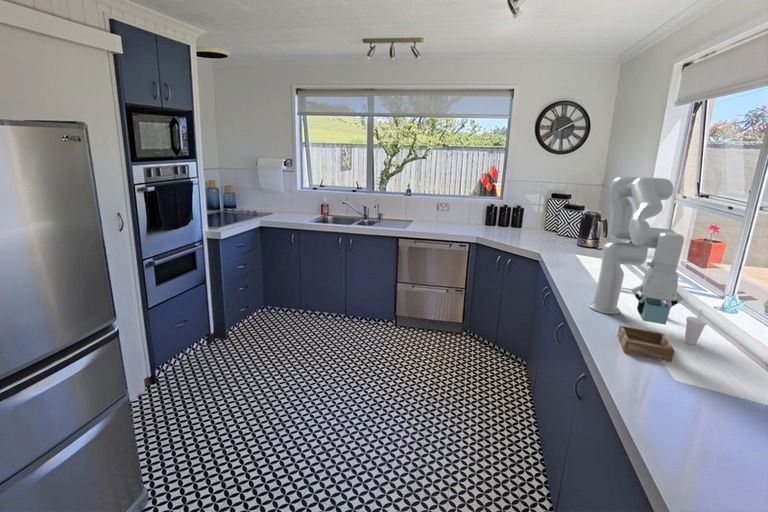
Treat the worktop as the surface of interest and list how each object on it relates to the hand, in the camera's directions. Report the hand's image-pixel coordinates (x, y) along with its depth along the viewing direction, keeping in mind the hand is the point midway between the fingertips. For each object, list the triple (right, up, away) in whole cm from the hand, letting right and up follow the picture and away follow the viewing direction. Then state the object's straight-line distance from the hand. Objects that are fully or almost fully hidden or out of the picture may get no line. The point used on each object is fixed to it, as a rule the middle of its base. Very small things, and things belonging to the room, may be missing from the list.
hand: (651, 313), depth 151 cm
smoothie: (+22, -13, +11) cm, 28 cm away
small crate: (0, -1, 0) cm, 1 cm away
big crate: (-1, -13, +4) cm, 14 cm away
